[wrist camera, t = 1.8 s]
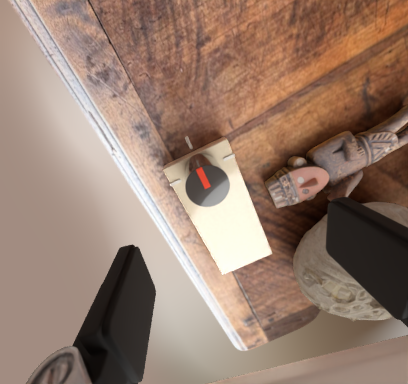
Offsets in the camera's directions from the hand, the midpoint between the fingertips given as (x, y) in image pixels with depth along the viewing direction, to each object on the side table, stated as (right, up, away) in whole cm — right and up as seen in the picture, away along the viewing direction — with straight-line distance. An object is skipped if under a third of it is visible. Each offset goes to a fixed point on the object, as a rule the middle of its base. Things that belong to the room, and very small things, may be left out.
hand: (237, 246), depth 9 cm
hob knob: (-2, +5, +13) cm, 14 cm away
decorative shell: (+19, -5, +22) cm, 30 cm away
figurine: (+16, +7, +16) cm, 24 cm away
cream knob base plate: (0, +1, +17) cm, 17 cm away
